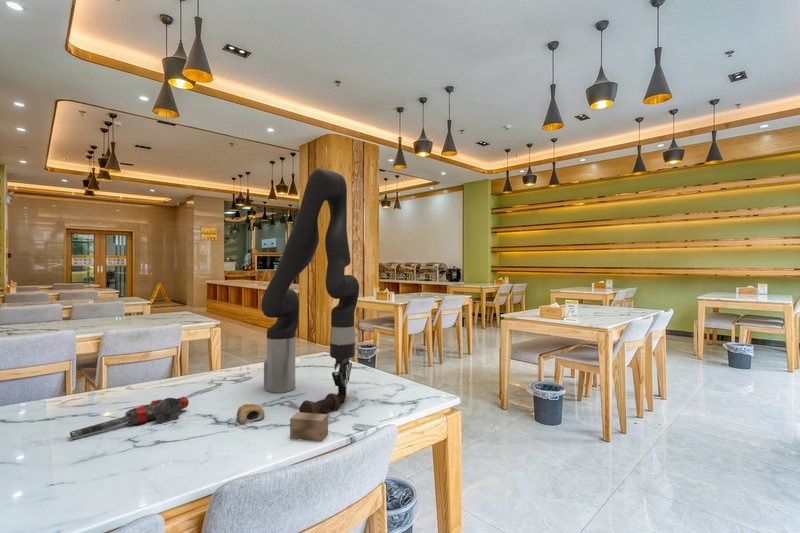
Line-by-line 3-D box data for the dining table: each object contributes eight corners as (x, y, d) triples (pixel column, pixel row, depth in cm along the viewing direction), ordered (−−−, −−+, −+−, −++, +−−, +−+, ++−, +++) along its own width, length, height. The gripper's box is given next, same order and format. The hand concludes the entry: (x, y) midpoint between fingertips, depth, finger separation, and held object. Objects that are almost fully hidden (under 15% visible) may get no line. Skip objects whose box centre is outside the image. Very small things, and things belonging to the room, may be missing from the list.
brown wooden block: (290, 439, 94) (290, 418, 94) (297, 432, 98) (297, 412, 98) (322, 442, 93) (322, 420, 93) (328, 434, 97) (328, 414, 97)
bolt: (343, 411, 117) (307, 427, 104) (332, 400, 119) (296, 414, 106) (352, 395, 116) (316, 410, 103) (340, 384, 118) (304, 397, 105)
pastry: (233, 414, 110) (233, 400, 110) (258, 409, 113) (258, 396, 113) (240, 425, 102) (240, 411, 102) (266, 420, 105) (266, 406, 106)
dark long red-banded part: (177, 409, 118) (196, 415, 108) (64, 441, 99) (75, 452, 89) (175, 388, 119) (194, 391, 109) (62, 416, 100) (73, 423, 90)
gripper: (337, 336, 127) (337, 390, 127) (323, 344, 114) (322, 405, 114) (360, 337, 126) (359, 391, 126) (348, 345, 112) (348, 406, 113)
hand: (342, 398), depth 120 cm, fingers closed
